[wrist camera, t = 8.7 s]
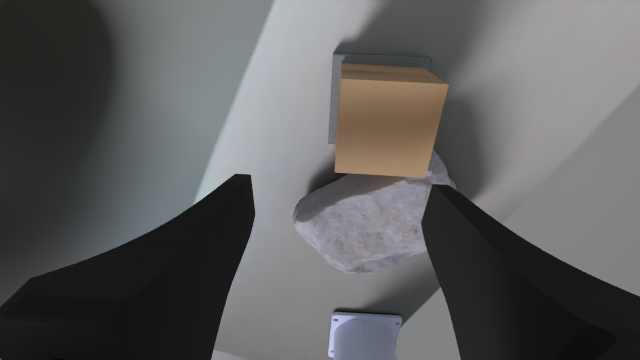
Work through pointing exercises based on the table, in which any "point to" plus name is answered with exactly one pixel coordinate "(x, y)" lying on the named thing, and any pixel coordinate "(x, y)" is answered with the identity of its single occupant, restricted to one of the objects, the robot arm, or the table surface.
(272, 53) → the table surface
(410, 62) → the charcoal pad
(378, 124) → the tan cube
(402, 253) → the stone block
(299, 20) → the table surface
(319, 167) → the table surface
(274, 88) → the table surface
